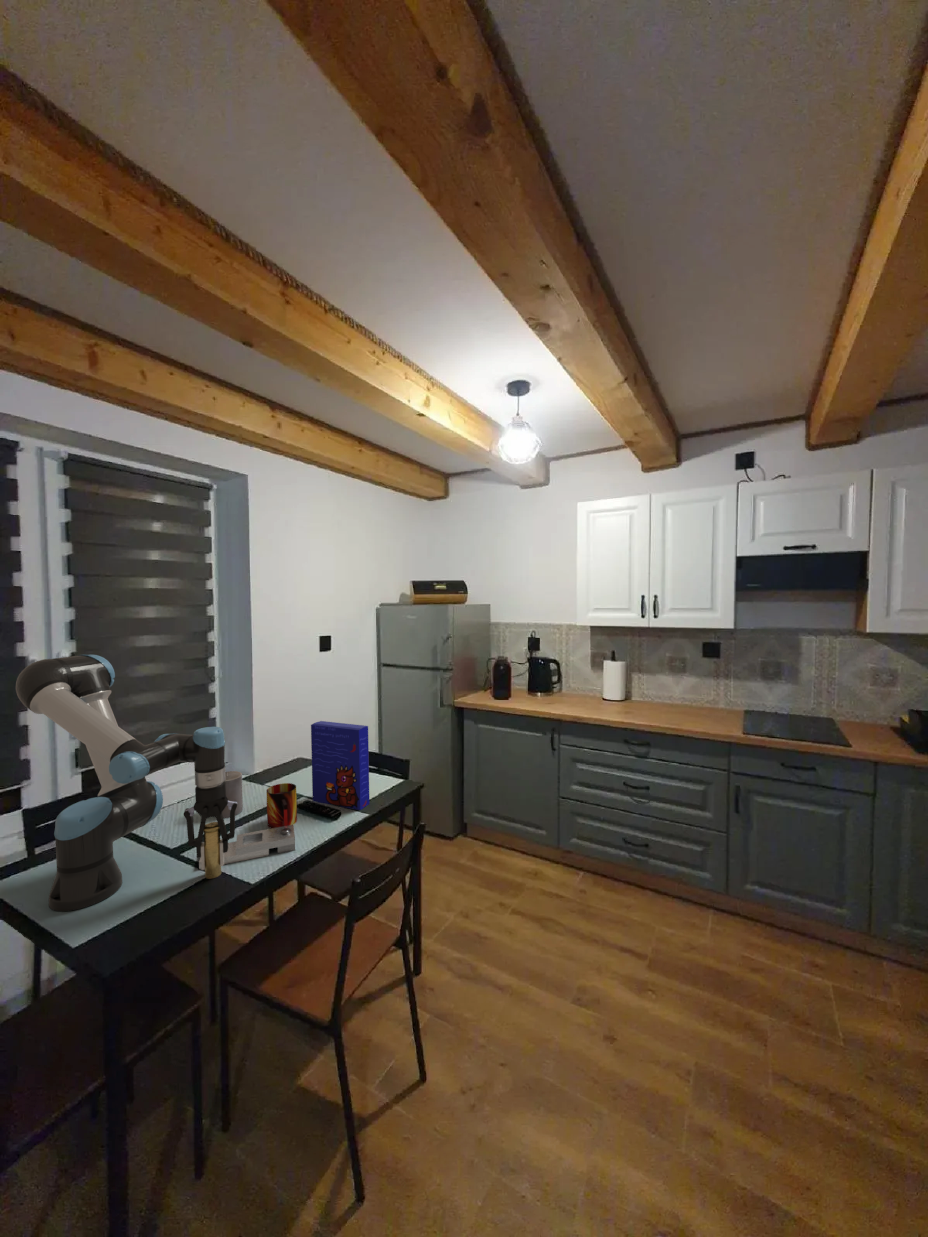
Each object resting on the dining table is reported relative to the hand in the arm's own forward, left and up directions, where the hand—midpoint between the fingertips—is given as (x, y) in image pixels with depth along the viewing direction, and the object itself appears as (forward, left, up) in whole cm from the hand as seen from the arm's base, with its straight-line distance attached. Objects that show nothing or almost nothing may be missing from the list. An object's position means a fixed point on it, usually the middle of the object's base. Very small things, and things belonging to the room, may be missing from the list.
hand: (213, 865), depth 132 cm
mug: (+20, +24, -3) cm, 31 cm away
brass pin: (0, 0, -3) cm, 3 cm away
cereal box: (+40, +34, -3) cm, 53 cm away
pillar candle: (+1, +42, -3) cm, 42 cm away
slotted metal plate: (+10, +9, -3) cm, 14 cm away
